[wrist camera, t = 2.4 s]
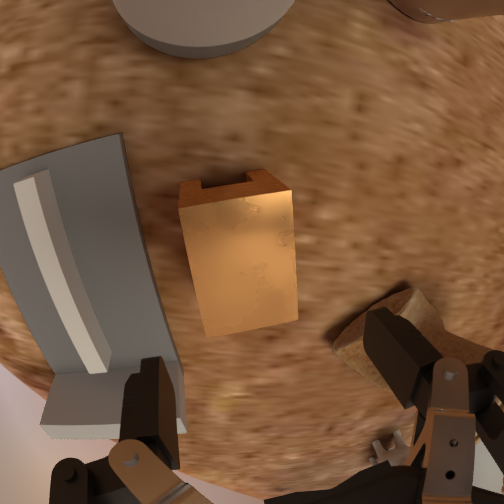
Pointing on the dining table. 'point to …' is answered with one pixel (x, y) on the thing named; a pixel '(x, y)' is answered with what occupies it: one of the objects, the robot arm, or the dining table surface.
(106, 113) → the dining table surface
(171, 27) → the smart speaker
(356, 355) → the brown boot
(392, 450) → the dog figurine
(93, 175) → the rail plate
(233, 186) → the block
